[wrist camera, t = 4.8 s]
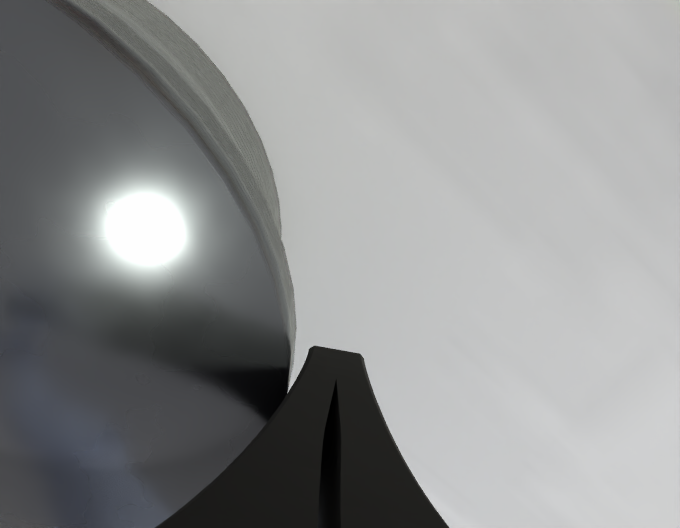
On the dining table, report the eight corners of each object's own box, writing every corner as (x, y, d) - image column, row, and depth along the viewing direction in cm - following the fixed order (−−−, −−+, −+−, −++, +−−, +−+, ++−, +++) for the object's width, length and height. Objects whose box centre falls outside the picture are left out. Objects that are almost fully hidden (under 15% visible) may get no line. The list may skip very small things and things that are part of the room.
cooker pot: (251, 468, 23) (222, 582, 19) (-114, 407, 22) (-232, 510, 18) (331, -125, 13) (310, -182, 8) (-344, -267, 12) (-751, -407, 8)
